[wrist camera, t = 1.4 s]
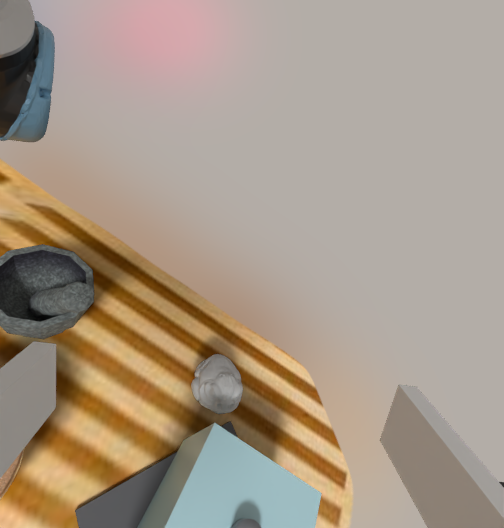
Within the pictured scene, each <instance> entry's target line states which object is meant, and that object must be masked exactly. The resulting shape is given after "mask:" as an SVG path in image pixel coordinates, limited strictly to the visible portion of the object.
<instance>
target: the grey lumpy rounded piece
mask: <svg viewBox="0 0 504 528" xmlns="http://www.w3.org/2000/svg"><path fill="white" fill-rule="evenodd" d="M191 387H192V392H193V395H194V397H195V399H196V400H197V401H199V403H200V404H201V405H202V406H204V407H205V408H208V409H210V410H211V411H213V412H215V413H217V414H225V413H230V412H232V411H233V410H235V409H236V408H237V407H238V404H239V402H240V400H241V397H242V391H243V388H242V383H241V376H240V373H239V371H238V370H237V369H236V367H235V365H234V364H233V363H232V361H231V360H230V359H228V358H227V357H225V356H223V355H221V354H215V355H212V356H211V357H209V358H208V359H206V360H204V361H202V362H201V363H200V364H199V365H198V367H197V368H196V370H195V379H194V380H193V381H192V384H191Z"/></svg>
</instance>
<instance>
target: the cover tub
mask: <svg viewBox="0 0 504 528" xmlns="http://www.w3.org/2000/svg"><path fill="white" fill-rule="evenodd" d="M320 499H321V493H320V492H319V491H317V490H316V489H314V488H313V487H311V486H310V485H308V484H307V483H305V482H304V481H302V480H301V479H299V478H298V477H296V476H295V475H293V474H292V473H290V472H289V471H287V470H286V469H284V468H283V467H281V466H279V465H278V464H276V463H275V462H273V461H272V460H270V459H269V458H267V457H266V456H264V455H263V454H261V453H260V452H258V451H257V450H255V449H254V448H252V447H251V446H249V445H248V444H246V443H245V442H243V441H242V440H240V439H239V438H237V437H236V436H234V435H233V434H231V433H230V432H228V431H227V430H225V429H224V428H222V427H221V426H219V425H218V424H216V423H213V424H212V425H210V426H208V427H206V428H204V429H203V430H201V431H199V432H197V433H196V434H194V435H192V436H190V437H188V438H187V439H185V440H183V442H182V444H181V446H180V448H179V450H178V452H177V454H176V455H175V457H174V459H173V461H172V463H171V465H170V467H169V469H168V471H167V472H166V474H165V476H164V478H163V480H162V482H161V484H160V486H159V488H158V489H157V491H156V493H155V495H154V497H153V499H152V501H151V503H150V505H149V506H148V508H147V510H146V512H145V514H144V516H143V518H142V520H141V522H140V523H139V525H138V527H137V528H315V525H316V519H317V514H318V509H319V504H320Z"/></svg>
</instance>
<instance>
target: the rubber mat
mask: <svg viewBox="0 0 504 528" xmlns="http://www.w3.org/2000/svg"><path fill="white" fill-rule="evenodd" d="M221 427H222V428H224V429H225V430H227V431H228V432H230V433H231V434H233V435H234V436H236V437H237V435H236V433H235V430H234V428H233V426H232V423H231V421H230V422H228V423H226V424H224V425H223V426H221ZM237 438H238V437H237ZM176 454H177V452H176V453H174V454H172V455H171V456H169V457H167V458H166V459H164V460H162V461H160V462H159V463H157V464H155V465H153V466H152V467H150V468H148V469H146V470H145V471H143V472H141V473H140V474H138V475H136V476H134V477H133V478H131V479H129V480H127V481H126V482H124V483H122V484H120V485H119V486H117V487H115V488H114V489H112V490H110V491H108V492H107V493H105V494H103V495H101V496H100V497H98V498H96V499H94V500H93V501H91V502H89V503H88V504H86V505H84V506H82V507H81V508H79V509H77V510H75V512H76V516H77V521H78V525H79V528H137V527H138V525H139V523H140V522H141V520H142V518H143V516H144V514H145V512H146V510H147V508H148V506H149V505H150V503H151V501H152V499H153V497H154V495H155V493H156V491H157V489H158V488H159V486H160V484H161V482H162V480H163V478H164V476H165V474H166V472H167V471H168V469H169V467H170V465H171V463H172V461H173V459H174V457H175V455H176Z"/></svg>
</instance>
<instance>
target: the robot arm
mask: <svg viewBox="0 0 504 528" xmlns="http://www.w3.org/2000/svg"><path fill="white" fill-rule="evenodd" d="M54 49H55V47H54V36H53V34H52V32H51V31H50V30H49V29H48V28H47V27H45V26H43V25H42V24H41V23H39V22H38V21H35V20H34V15H33V11H32V8H31V5H30V2H29V1H28V0H0V140H1V141H3V140H16V141H23V142H36V141H38V140H40V139H41V138H42V137H43V136H44V135H45V132H46V128H47V124H48V119H49V112H50V103H51V96H50V94H51V91H52V83H53V72H54V52H55V50H54ZM55 408H56V344H52V343H44V342H35V341H34V342H32V343H31V344H30V345H29V346H27V347H26V348H25V349H24V350H22V351H21V352H20V353H19V354H18V355H16V356H15V357H14V358H13V359H11V360H10V361H9V362H8V363H6V364H5V365H4V366H3V367H2V368H0V478H1V477H2V476H3V474H4V473H5V472H6V471H7V469H8V468H9V467H10V466H11V464H12V463H13V462H14V460H15V459H16V458H17V457H18V455H19V454H20V453H21V451H22V450H23V449H24V448H25V446H26V445H27V444H28V443H29V441H30V440H31V439H32V437H33V436H34V435H35V434H36V432H37V431H38V430H39V429H40V427H41V426H42V425H43V423H44V422H45V421H46V420H47V418H48V417H49V416H50V414H51V413H52V412H53V411H54V409H55ZM380 441H381V443H382V445H383V447H384V449H385V450H386V452H387V454H388V456H389V458H390V460H391V461H392V463H393V465H394V467H395V468H396V470H397V472H398V474H399V476H400V478H401V480H402V482H403V483H404V485H405V487H406V489H407V491H408V492H409V494H410V496H411V498H412V499H413V502H414V503H415V505H416V507H417V509H418V511H419V513H420V514H421V516H422V518H423V520H424V522H425V524H426V525H427V527H428V528H504V482H498V481H497V479H496V478H495V477H494V476H493V475H492V474H491V472H490V471H489V470H488V469H487V468H486V467H485V465H483V463H482V462H481V461H480V460H479V458H478V457H477V456H476V455H475V454H474V453H473V452H472V450H471V449H470V448H469V447H468V446H467V445H466V443H465V442H464V441H463V440H462V439H461V438H460V436H459V435H458V434H457V433H456V432H455V431H454V430H453V428H452V427H451V426H450V425H449V424H448V423H447V421H446V420H445V419H444V418H443V417H442V416H441V414H440V413H439V412H438V411H437V410H436V409H435V407H434V406H433V405H432V404H431V403H430V402H429V400H428V399H427V398H426V397H425V396H424V395H423V394H422V392H421V391H420V390H419V389H418V388H417V387H415V386H407V385H398V388H397V391H396V394H395V397H394V400H393V403H392V406H391V409H390V412H389V415H388V418H387V420H386V423H385V426H384V429H383V432H382V435H381V438H380Z"/></svg>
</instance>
